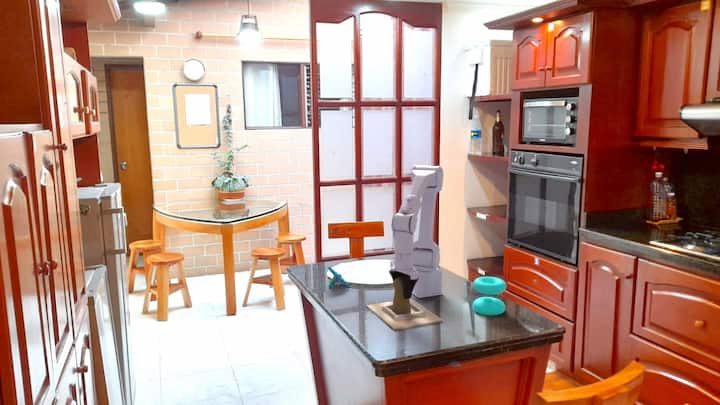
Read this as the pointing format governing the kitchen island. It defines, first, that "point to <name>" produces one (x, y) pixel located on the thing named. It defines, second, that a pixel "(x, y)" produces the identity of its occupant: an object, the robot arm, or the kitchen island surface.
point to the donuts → (489, 303)
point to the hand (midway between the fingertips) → (403, 295)
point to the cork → (400, 299)
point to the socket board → (404, 315)
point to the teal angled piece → (336, 278)
